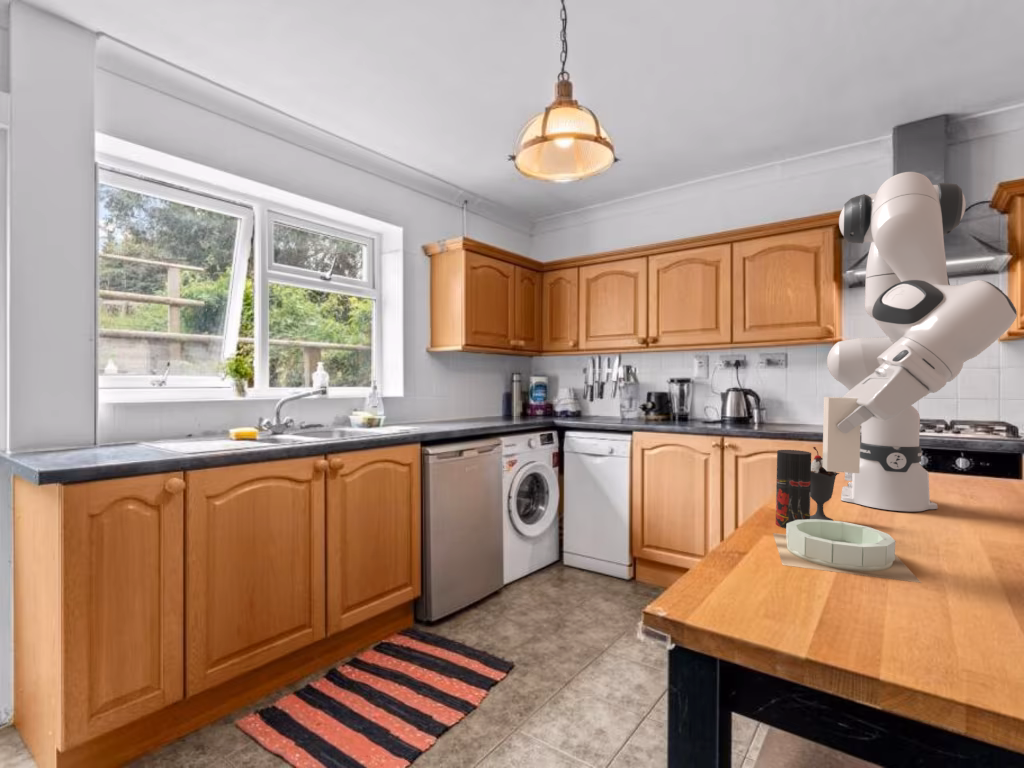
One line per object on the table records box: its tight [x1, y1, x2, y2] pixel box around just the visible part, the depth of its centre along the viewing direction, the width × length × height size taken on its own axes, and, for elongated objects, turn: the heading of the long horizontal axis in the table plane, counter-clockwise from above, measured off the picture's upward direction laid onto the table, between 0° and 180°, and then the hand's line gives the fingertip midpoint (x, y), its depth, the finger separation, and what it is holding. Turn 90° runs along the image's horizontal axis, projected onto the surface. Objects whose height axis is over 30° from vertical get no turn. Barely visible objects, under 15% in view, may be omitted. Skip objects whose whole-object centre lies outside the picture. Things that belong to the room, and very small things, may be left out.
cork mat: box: [772, 532, 922, 584], centre depth 89 cm, size 18×18×1 cm
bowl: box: [785, 519, 896, 571], centre depth 89 cm, size 15×15×4 cm
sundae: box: [810, 446, 840, 521], centre depth 112 cm, size 7×7×15 cm
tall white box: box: [822, 396, 861, 473], centre depth 89 cm, size 4×4×12 cm
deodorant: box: [775, 449, 812, 530], centre depth 106 cm, size 6×6×15 cm
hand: (836, 428), depth 89 cm, fingers closed on tall white box, 4 cm apart
